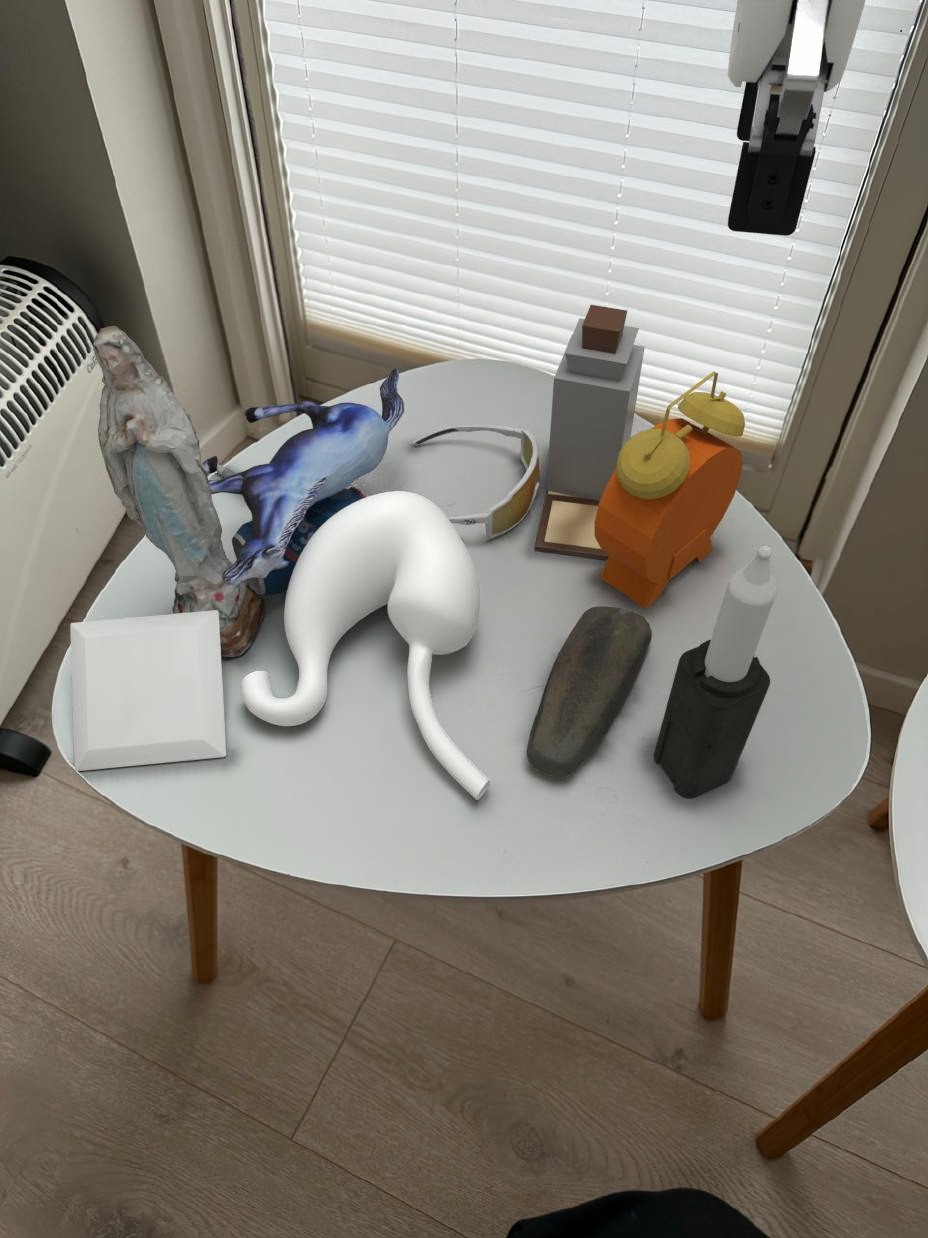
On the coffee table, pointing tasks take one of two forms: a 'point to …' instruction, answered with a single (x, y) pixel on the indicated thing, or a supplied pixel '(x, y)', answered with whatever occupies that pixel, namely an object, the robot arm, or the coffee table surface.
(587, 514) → the brown picture frame
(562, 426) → the perfume bottle
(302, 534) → the soda can
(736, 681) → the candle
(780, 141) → the robot arm
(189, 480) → the statue
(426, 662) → the stomach
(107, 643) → the white chamfered tile
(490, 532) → the sunglasses
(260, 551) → the toy
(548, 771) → the decorative stone
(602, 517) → the alarm clock
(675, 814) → the coffee table surface
